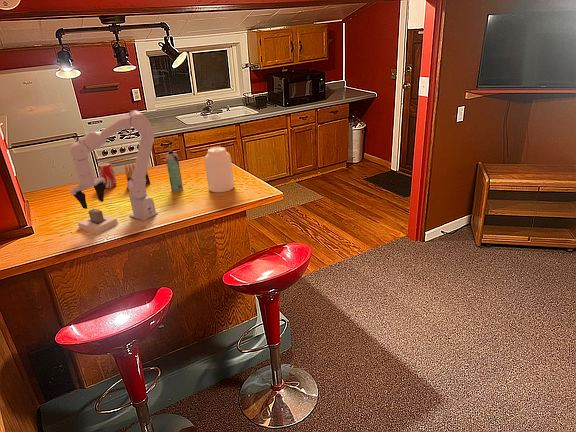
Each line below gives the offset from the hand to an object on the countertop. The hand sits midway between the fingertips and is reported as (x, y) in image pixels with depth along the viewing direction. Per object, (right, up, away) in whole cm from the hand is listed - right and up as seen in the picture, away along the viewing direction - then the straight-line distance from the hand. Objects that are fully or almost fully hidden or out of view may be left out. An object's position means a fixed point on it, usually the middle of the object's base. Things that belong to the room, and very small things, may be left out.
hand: (93, 204), depth 174 cm
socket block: (+1, -9, +3) cm, 9 cm away
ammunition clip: (+3, +11, +44) cm, 46 cm away
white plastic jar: (+47, +9, +35) cm, 59 cm away
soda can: (-12, +10, +44) cm, 47 cm away
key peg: (+1, -9, +3) cm, 9 cm away
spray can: (+25, +8, +36) cm, 45 cm away
